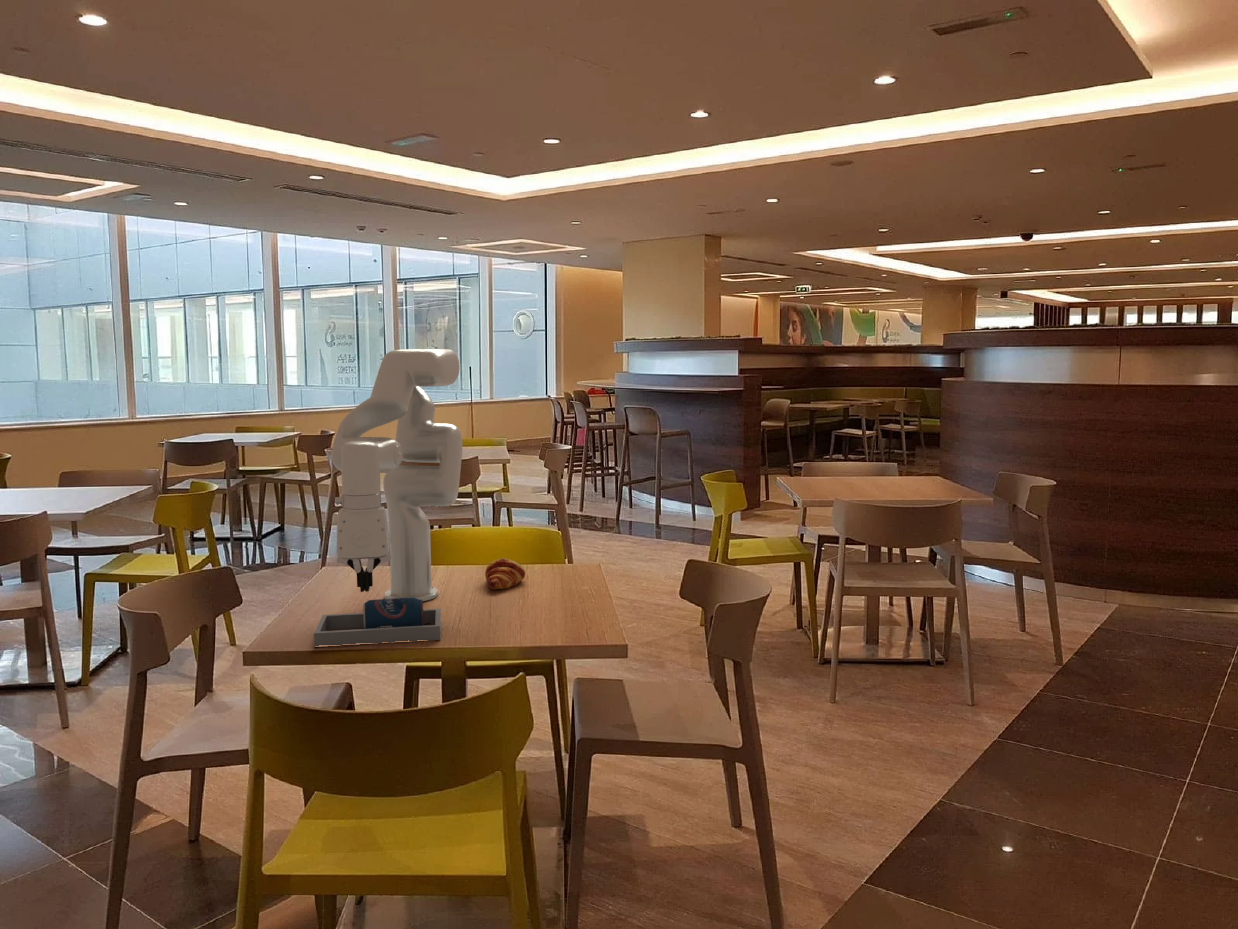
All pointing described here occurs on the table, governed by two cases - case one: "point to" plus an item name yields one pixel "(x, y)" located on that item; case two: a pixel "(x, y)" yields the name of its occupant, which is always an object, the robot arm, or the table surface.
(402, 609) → the soda can
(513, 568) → the croissant
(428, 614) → the plastic frame
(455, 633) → the table surface
